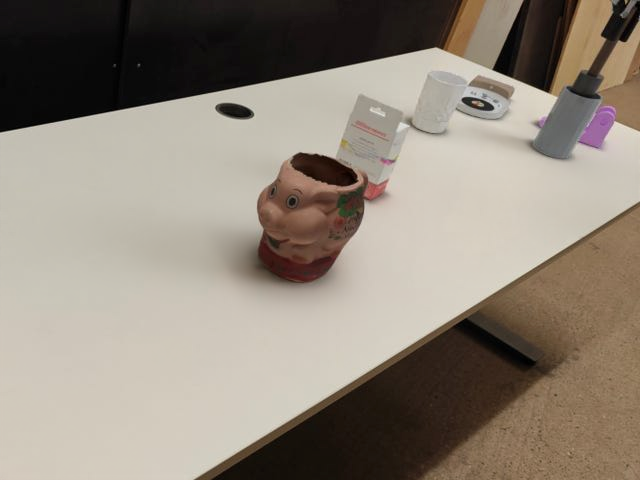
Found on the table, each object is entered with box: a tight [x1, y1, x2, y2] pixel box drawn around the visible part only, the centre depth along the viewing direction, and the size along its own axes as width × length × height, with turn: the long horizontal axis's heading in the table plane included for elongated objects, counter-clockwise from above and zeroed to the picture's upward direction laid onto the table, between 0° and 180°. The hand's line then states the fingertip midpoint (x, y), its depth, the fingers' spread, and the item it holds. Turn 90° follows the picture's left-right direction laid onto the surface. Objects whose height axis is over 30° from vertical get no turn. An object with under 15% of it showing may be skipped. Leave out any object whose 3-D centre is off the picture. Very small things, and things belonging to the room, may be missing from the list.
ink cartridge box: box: [335, 93, 411, 201], centre depth 108 cm, size 9×5×15 cm, turn 47°
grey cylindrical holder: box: [532, 84, 604, 160], centre depth 134 cm, size 7×7×12 cm
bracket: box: [538, 105, 617, 149], centre depth 145 cm, size 13×6×7 cm, turn 59°
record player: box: [456, 74, 516, 120], centre depth 152 cm, size 12×3×20 cm
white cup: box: [411, 69, 469, 134], centre depth 135 cm, size 8×8×10 cm
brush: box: [570, 6, 637, 99], centre depth 125 cm, size 4×4×16 cm
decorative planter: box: [256, 151, 368, 283], centre depth 89 cm, size 20×12×14 cm, turn 135°
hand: (613, 38), depth 123 cm, fingers closed on brush, 2 cm apart
